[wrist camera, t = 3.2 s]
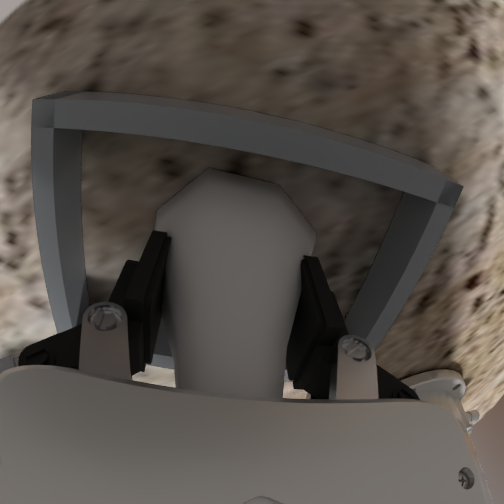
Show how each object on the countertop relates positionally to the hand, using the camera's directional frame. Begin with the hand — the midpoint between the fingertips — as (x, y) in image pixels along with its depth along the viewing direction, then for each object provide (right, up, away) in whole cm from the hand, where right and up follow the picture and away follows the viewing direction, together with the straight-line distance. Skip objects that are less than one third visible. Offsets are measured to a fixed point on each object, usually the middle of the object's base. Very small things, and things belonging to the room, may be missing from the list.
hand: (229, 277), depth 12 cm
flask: (0, +1, +2) cm, 2 cm away
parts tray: (0, +1, +2) cm, 2 cm away
